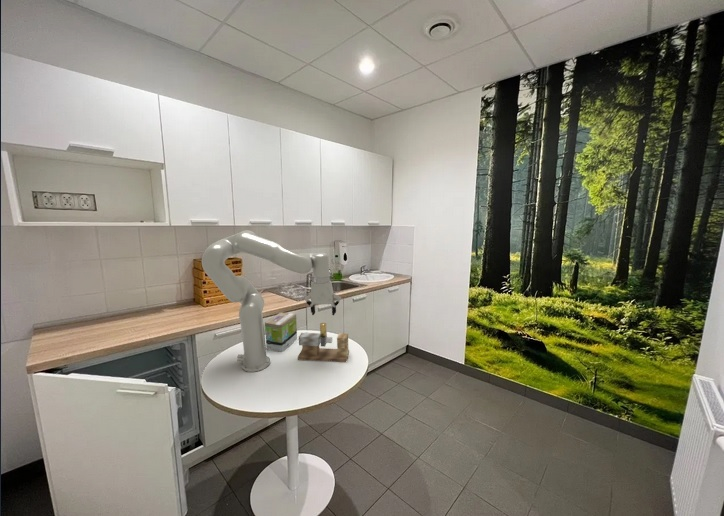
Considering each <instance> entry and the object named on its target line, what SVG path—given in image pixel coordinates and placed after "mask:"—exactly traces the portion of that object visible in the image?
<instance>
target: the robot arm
mask: <svg viewBox="0 0 724 516" xmlns="http://www.w3.org/2000/svg"><path fill="white" fill-rule="evenodd" d="M242 252H243V253H245V254H248V255H250V256H251V255H252V256H255V257H258V258H259V259H264V260H266V261H269V262H271V263H272V264H275V265H277V266H278V267H281V268H283V269H285V270H288V271H291V272H295V273H297V274H308V273H309V272H310V271H312V276H310V277H309V279H310V280H309V281H312V282H311V286H310V294H308V295H306V296H305V297H304V298H303V299H304V301H305V302H306V304H307V305H308V306H309V307H310V313H311V315H312V316H315V314H316V305H331V306H332V307H331V315H332V316H335V314H336V313H337V306H338V304H339V303H340V301H341V300H342V297H341V296H340V295H338V294H336V293H334V288H333V284H332V281H331V279H330V277H331V276H330V264H329V263H330V262H329V255H328V253H327V252H322V251H319V252H315V253H313V252H300V253H294V252H291V251H289V250H287V249H286V248H283V246H282V245H280V244H279V243H278V242H276V241H272V240H270V239H267V238H264V237H262V236H259V235H257V234H256V232H254V231H252V230H248V229H246V230H242V231H240V232H238V233H235V234H233V235H230V236H227V237H224V238H222V239H219V240H217V241H215V242H213V243H211V244H210V245H208V246H207V248H206V249H205V250H204V252H203V254H202V257H201V266H202V269H203V272H205V274H206V275H207V276H208V278H209V279H210V280H211V281H212V282H213V283H214V284H215V287H217V288H218V290H219V291H220V292H221V293H222V295H223V296H225V298H226V299H227V300H228V301H229V302H231V303H240V304H241V305H240V306H239V311H238V317H239V318H238V319H239V323H240V328H241V335H242V336H241V337H242V345H243V353H242V354H237V362H242V363H241V368H242V370H243V371H245V372H248V373H255V372H258V371H259V372H260V371H263V370H264V369H266V368H267V367H269V366H270V364H271V361H272V360H271V358H270V356H268V355H267V349H266V333H265V323H264V318H263V317H264V316H263V310H264V307H265V300H264V298H263V296H262V295H261V293H260V292H259V291H258V289H256V287H255V286H254V285H253V283H252V282H251V281H250V280H249V279H248V278H246V277H245V276H242V275H236V274H235V273H234V272H233V271H232V270H231V268H230V267H229V266H228V265H226V260H228V259H229V258H230V257H231V256H234V255H235V256H236V255H237V254H240V253H242ZM335 299H336V301H335Z"/></svg>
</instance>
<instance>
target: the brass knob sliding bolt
mask: <svg viewBox="0 0 724 516" xmlns="http://www.w3.org/2000/svg"><path fill="white" fill-rule="evenodd" d="M319 330H320V331H319V333H320V337H319V343H320V347H326V345H327V344H332V343H333V337H332V336H327V335H328V332H327V323H326V322H320V324H319Z"/></svg>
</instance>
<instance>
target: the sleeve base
mask: <svg viewBox="0 0 724 516" xmlns="http://www.w3.org/2000/svg"><path fill="white" fill-rule="evenodd" d="M319 337H320V332H317V333H316V332H301V333H300V334H299V336H298V344H299V345H298V346H302V348H301V350H300V352H299V353H298V355H297V361H311V362H312V361H314V362H315V361H316V362H317V361H318V362H335V363H337V362H338V363H347V362H346V361H348V357H349V355H350V354H349V353H350V349H349V348H348V351H349V352H348V355H347V357H338V354H337V348H323V347H322V348H321V347H320V346H321V343H319Z"/></svg>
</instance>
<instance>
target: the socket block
mask: <svg viewBox="0 0 724 516" xmlns="http://www.w3.org/2000/svg"><path fill="white" fill-rule="evenodd" d="M336 347H337V348H336V349H337V354H338V357H347V355H348V352H349V353H350V350H349V351H348V349H349V333H344V332H343V333H341V332H339V333H338V335H337V337H336ZM348 356H349V355H348Z"/></svg>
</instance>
